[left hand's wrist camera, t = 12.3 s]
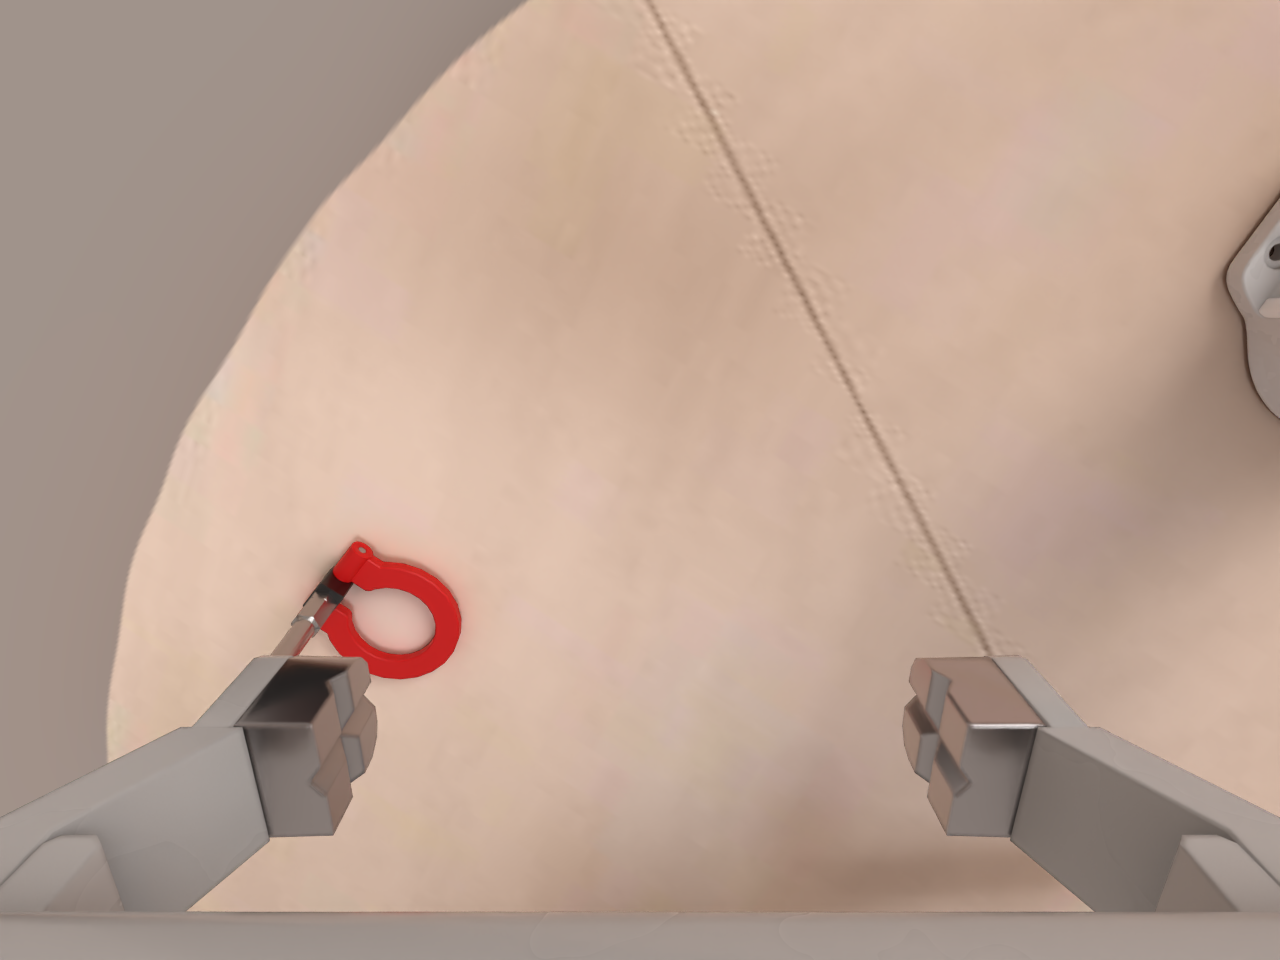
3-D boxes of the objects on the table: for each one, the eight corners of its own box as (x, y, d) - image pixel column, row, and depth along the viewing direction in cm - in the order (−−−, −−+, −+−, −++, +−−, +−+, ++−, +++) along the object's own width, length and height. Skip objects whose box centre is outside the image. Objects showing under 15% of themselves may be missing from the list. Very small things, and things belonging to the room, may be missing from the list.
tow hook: (488, 607, 45) (364, 525, 42) (441, 757, 33) (265, 655, 30) (416, 689, 47) (294, 616, 45) (348, 856, 35) (176, 770, 33)
